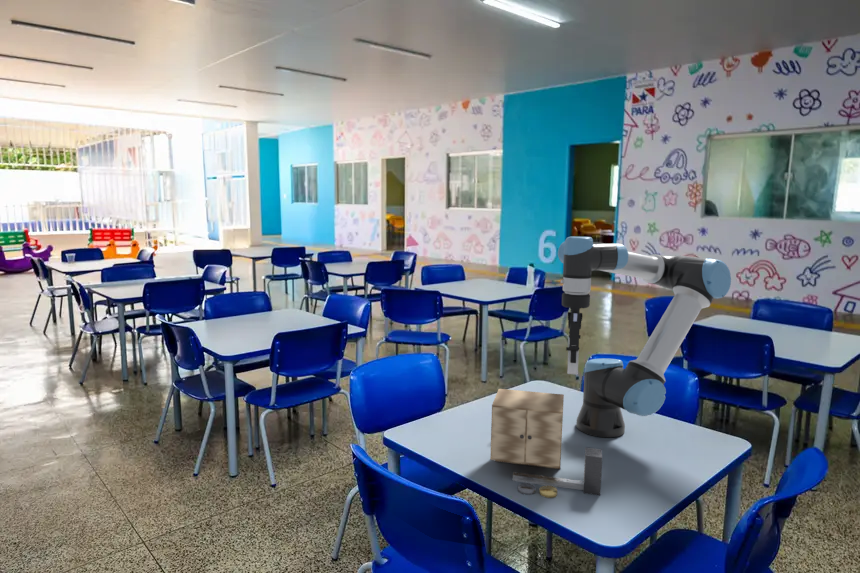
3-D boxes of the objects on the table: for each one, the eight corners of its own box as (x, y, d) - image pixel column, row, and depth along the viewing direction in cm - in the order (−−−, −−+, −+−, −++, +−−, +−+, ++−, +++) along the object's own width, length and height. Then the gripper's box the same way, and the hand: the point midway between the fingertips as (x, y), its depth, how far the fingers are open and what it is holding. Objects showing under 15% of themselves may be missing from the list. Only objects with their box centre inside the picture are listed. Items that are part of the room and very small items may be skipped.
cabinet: (560, 463, 157) (563, 394, 155) (559, 488, 143) (562, 413, 140) (496, 455, 162) (498, 388, 159) (489, 479, 147) (491, 406, 145)
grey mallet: (599, 486, 144) (601, 449, 143) (600, 495, 140) (602, 457, 138) (513, 475, 150) (515, 439, 149) (511, 483, 145) (513, 447, 144)
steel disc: (535, 488, 143) (536, 484, 143) (535, 497, 139) (535, 492, 139) (518, 486, 144) (518, 482, 144) (517, 494, 140) (517, 490, 140)
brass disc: (551, 488, 143) (551, 484, 143) (560, 496, 139) (560, 491, 139) (536, 491, 142) (536, 487, 142) (544, 499, 138) (544, 494, 138)
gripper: (562, 286, 168) (559, 355, 171) (561, 298, 144) (557, 378, 147) (588, 287, 166) (585, 357, 169) (591, 300, 142) (587, 381, 145)
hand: (572, 367), depth 158 cm, fingers open, 13 cm apart
